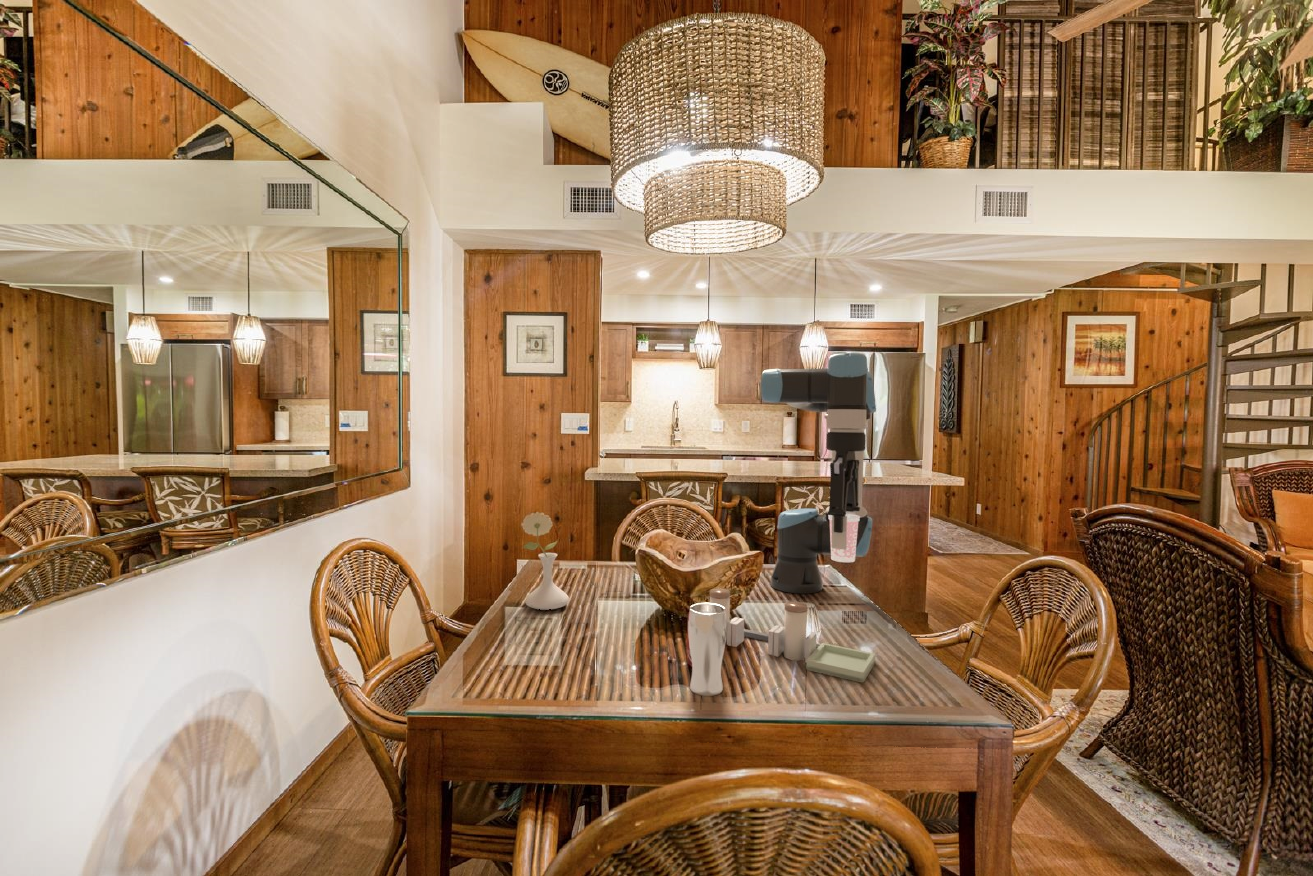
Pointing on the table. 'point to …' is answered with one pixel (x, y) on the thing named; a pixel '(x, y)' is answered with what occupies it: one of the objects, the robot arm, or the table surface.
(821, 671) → the tray
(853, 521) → the beverage cup
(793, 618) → the cylinder
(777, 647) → the holder
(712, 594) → the cylinder
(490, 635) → the table surface
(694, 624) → the beer glass
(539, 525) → the flower in vase
